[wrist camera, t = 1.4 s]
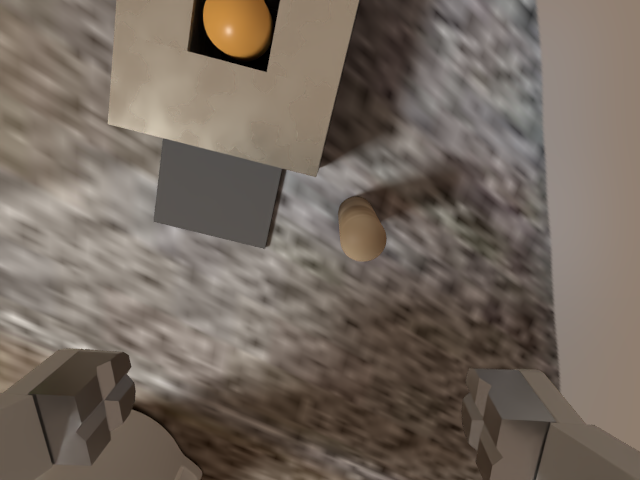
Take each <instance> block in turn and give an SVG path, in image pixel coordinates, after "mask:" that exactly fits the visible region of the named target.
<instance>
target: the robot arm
mask: <svg viewBox="0 0 640 480" xmlns="http://www.w3.org/2000/svg"><path fill="white" fill-rule="evenodd" d="M130 368H131V363H130V359H129V355H128V354H126V353H124V352H119V351H104V350H89V349H85V350H84V349H70V348H66V349H61V350H58V351H57V352H55V353H54V354H53V355H51V356H50V357H49V358H47V359H46V360H45V361H44V362H42V363H41V364H40V365H38V366H37V367H36V368H35V369H33V370H32V371H31V372H29V373H28V374H27V375H25V376H24V377H23V378H22V379H20V380H19V381H18V382H16V383H15V384H14V385H12V386H11V387H10V388H9V389H7V390H6V391H5V392H3V393H0V480H201V478H202V471H201V470H200V468H199V467H198V466H197V465H196V464H194V463H193V462H192V461H191V460H189V459H188V458H187V457H185V456H184V454H183V453H182V452H181V450H180V449H179V447H178V445H177V444H176V442H175V440H174V439H173V438H172V436H171V435H170V434H169V433H168V432H167V431H166V430H165V429H164V428H163V427H162V426H161V425H160V424H159V423H157V422H156V421H154V420H153V419H151V418H150V417H148V416H146V415H144V414H142V413H140V412H138V411H135V410H132V407H133V405H134V402H135V392H136V390H135V384H134V382H133V380H132V379H131V378H130V377H129V376H128V375H127V373H128V371H129V370H130ZM465 383H466V385H467V387H468V390H469V393H468V394H467V395H466V396H465V397H464V398H463V401H462V410H461V413H462V425H463V429H464V433H465V436H466V439H467V441H468V444H470V445H471V446H472V447H473V448H474V449H475V450H476V451H477V456H476V464H477V467H478V469H479V471H480V474H481V476H482V479H483V480H640V452H639V451H637V450H636V449H634V448H632V447H631V446H629V445H627V444H626V443H624V442H622V441H620V440H619V439H617V438H615V437H614V436H612V435H610V434H609V433H607V432H605V431H604V430H602V429H600V428H598V427H597V426H595V425H586V424H585V422H584V421H583V420H582V419H581V418H580V416H579V415H578V414H577V413H576V411H575V410H574V409H573V408H572V407H571V405H570V404H569V403H568V402H567V401H566V399H565V398H564V397H563V396H562V395H561V393H560V392H559V391H558V390H557V388H556V387H555V386H554V385H553V384H552V382H551V381H550V380H549V379H548V378H547V376H546V375H545V374H544V373H543V372H542V371H540V370H538V369H514V370H511V369H484V368H469V370H468V372H467V376H466V382H465Z"/></svg>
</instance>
